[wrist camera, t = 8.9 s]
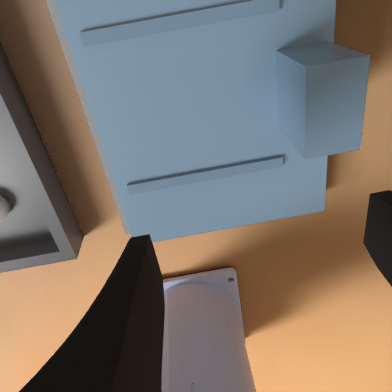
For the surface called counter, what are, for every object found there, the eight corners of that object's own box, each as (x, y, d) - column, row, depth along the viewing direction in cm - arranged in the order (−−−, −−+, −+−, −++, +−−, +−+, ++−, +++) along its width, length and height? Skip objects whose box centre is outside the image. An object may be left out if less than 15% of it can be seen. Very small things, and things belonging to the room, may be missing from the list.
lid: (317, 201, 23) (354, 252, 18) (136, 234, 23) (130, 292, 18) (331, -126, 14) (407, -176, 10) (37, -71, 14) (-17, -96, 10)
